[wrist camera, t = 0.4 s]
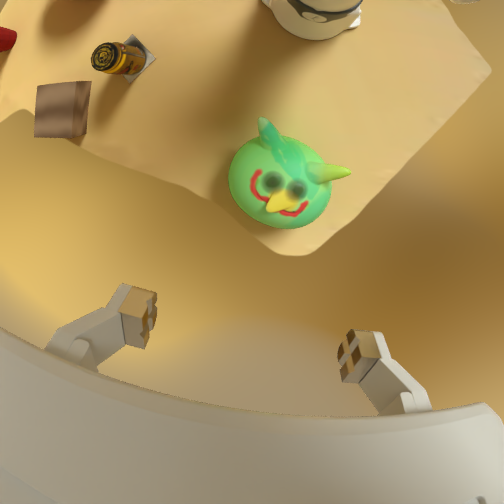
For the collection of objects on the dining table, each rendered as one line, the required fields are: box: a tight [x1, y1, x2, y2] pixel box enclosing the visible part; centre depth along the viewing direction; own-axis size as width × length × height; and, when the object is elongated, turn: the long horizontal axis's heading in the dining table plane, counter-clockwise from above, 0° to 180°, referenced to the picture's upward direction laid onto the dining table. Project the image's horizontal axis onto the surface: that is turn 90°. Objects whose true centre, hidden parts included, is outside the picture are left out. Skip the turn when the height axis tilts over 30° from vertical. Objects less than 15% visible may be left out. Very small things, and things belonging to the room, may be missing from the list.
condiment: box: [91, 34, 156, 83], centre depth 37 cm, size 7×8×12 cm
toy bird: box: [228, 117, 351, 229], centre depth 47 cm, size 18×17×15 cm
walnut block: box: [34, 81, 92, 138], centre depth 44 cm, size 12×12×6 cm
